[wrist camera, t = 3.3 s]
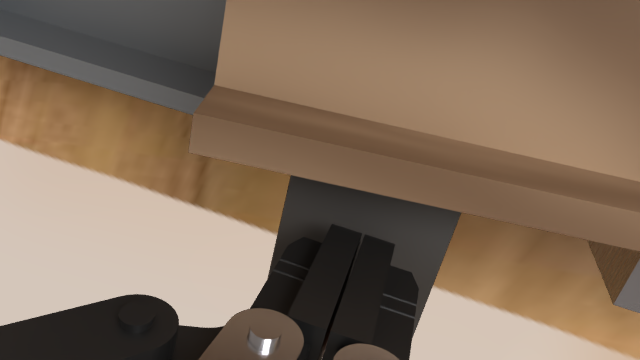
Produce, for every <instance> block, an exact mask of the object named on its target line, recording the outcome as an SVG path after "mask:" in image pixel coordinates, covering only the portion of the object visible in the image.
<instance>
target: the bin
mask: <svg viewBox="0 0 640 360" xmlns="http://www.w3.org/2000/svg"><path fill="white" fill-rule="evenodd" d="M225 7H226V0H0V55H1V56H4V57H7V58H11V59H14V60H17V61H20V62H23V63H27V64H30V65H33V66H36V67H40V68H43V69H46V70H49V71H52V72H56V73H59V74H62V75H65V76H68V77H72V78H75V79H78V80H81V81H85V82H88V83H91V84H94V85H97V86H101V87H104V88H107V89H110V90H114V91H117V92H120V93H123V94H126V95H130V96H133V97H136V98H139V99H142V100H146V101H149V102H152V103H155V104H159V105H162V106H165V107H168V108H171V109H175V110H178V111H181V112H184V113H188V114H191V115H193V113H194V112H195V110H196V109H197V108H198V106H199V105H200V104H201V102H202V101H203V100H204V98H205V97H206V95H207V94H208V93H209V91H210V90H211V89H212V87H213V86H214V83H215V76H216V69H217V63H218V56H219V49H220V42H221V35H222V28H223V21H224V14H225Z"/></svg>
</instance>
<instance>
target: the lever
mask: <svg viewBox="0 0 640 360" xmlns="http://www.w3.org/2000/svg"><path fill="white" fill-rule="evenodd" d="M188 153H192V154H197V155H202V156H206V157H211V158H215V159H220V160H224V161H229V162H234V163H238V164H243V165H247V166H252V167H256V168H261V169H265V170H270V171H275V172H279V173H284V174H288V175H291V177H290V181H289V186H288V190H287V195H286V199H285V204H284V208H283V213H282V217H281V221H280V226H279V230H278V235H277V239H276V244H275V248H274V253H273V257H272V261H271V266H270V270H269V275H268V278H269V276H270V274H271V273H272V271H273V270H274V268H275V266H276V264H277V263H278V261H280V258H281V256H282V254H283V253H284V251H285V249H286V248H287V246H288V245H289V244H291V243H293V242H295V241H297V240H298V239H300V238H302V237H306V238H309V239H312V240H315V241H318V242H321V243H323V241H324V239H325V237H326V235H327V233H328V230H329V228H330V226H331V225H332V224H335V225H338V226H341V227H344V228H347V229H350V230H353V231H357V232H360V233H362V236H361V240H360V243H359V246H358V250H357V253H356V256H355V260H356V258H357V255H358V252H359V249H360V246H361V243H362V241H363V238H364V235H365V234H366V235H369V236H372V237H375V238H378V239H382V240H385V241H388V242H391V243H394V244H395V247H394V252H393V256H392V260H391V264H390V265H391V266H394V267H397V268H400V269H403V270H406V271H409V272H412V274H413V276H414V279H415V281H416V283H417V285H418V288H419V292H418V299H417V305H416V313H415V318H414V319H415V321H414V328H413V335H414V332H415V330H416V327H417V325H418V322H419V320H420V317H421V314H422V312H423V309H424V307H425V304H426V302H427V299H428V297H429V294H430V291H431V289H432V286H433V284H434V281H435V279H436V276H437V273H438V271H439V268H440V266H441V263H442V261H443V258H444V256H445V253H446V250H447V248H448V245H449V243H450V240H451V238H452V235H453V233H454V230H455V227H456V225H457V222H458V220H459V217H460V215H461V212H462V213H467V214H471V215H476V216H480V217H485V218H489V219H494V220H499V221H503V222H508V223H512V224H517V225H521V226H526V227H531V228H535V229H540V230H544V231H549V232H553V233H558V234H563V235H567V236H572V237H576V238H581V239H585V240H590V241H595V242H599V243H604V244H608V245H613V246H617V247H622V248H626V249H631V250H636V251H640V0H226V7H225V14H224V21H223V28H222V35H221V42H220V49H219V56H218V63H217V69H216V76H215V83H214V86H213V87H212V89H211V90H210V91H209V93H208V94H207V95H206V97H205V98H204V100H203V101H202V102H201V104H200V105H199V106H198V108H197V109H196V110H195V112H194V113H193V121H192V128H191V136H190V144H189V152H188ZM355 260H354V263H355ZM354 263H353V266H354ZM353 266H352V269H353ZM352 269H351V272H352ZM350 274H351V273H350ZM349 277H350V276H349ZM348 280H349V279H348ZM413 335H412V337H413Z"/></svg>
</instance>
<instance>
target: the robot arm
mask: <svg viewBox="0 0 640 360" xmlns="http://www.w3.org/2000/svg"><path fill="white" fill-rule="evenodd" d="M361 236H362V233H360V232H357V231H353V230H350V229H347V228H344V227H341V226H338V225H335V224H332V225H331V226H330V228H329V230H328V233H327V235H326V237H325V239H324V241H323V243H321V242H318V241H315V240H312V239H309V238H306V237H302V238H300V239H298V240H297V241H295V242H293V243H291V244H289V245H288V246H287V248H286V249H285V251H284V253H283V254H282V256H281V258H280V261H278V263H277V264H276V266H275V268H274V270H273V271H272V273H271V274H270V276H269V278H268V280H267V281H266V283H265V285H264V286H263V288H262V290H261V291H260V293H259V295H258V296H257V298H256V300H255V301H254V303H253V305H252V306H251V308H250V309H247V310H244V311H241V312H239V313H237V314H235V315H234V316H233V317H232V318H231V319H230V320H229V321H228V322H227V323H226V325H225V326H223V327H217V328H200V327H191V326H180V325H179V319H178V315H177V314H176V311H175V310H174V309H173V308H172V306H170V305H169V304H168V303H166V302H165V301H163V300H161V299H159V298H156V297H153V296H148V295H138V294H137V295H136V294H135V295H125V296H120V297H116V298H112V299H108V300H105V301H100V302H96V303H92V304H88V305H84V306H80V307H76V308H72V309H68V310H64V311H60V312H56V313H52V314H48V315H44V316H40V317H36V318H32V319H28V320H23V321H19V322H15V323H11V324H8V325H4V326H0V360H409V356H410V349H411V341H412V335H413V328H414V321H415V319H414V318H415V313H416V305H417V299H418V292H419V288H418V285H417V283H416V281H415V279H414V276H413V274H412V272H409V271H406V270H403V269H400V268H397V267H394V266H391V265H390V264H391V260H392V256H393V252H394V247H395V244H394V243H391V242H388V241H385V240H382V239H378V238H375V237H372V236H369V235H366V234H365V235H364V238H363V241H362V243H361V246H360V249H359V252H358V255H357V258H356V260H355V256H356V253H357V250H358V246H359V243H360V240H361ZM354 260H355V263H354ZM353 263H354V266H353ZM352 266H353V269H352ZM351 269H352V272H351ZM350 273H351V274H350ZM349 276H350V277H349ZM348 279H349V280H348ZM322 357H323V358H322Z"/></svg>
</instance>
